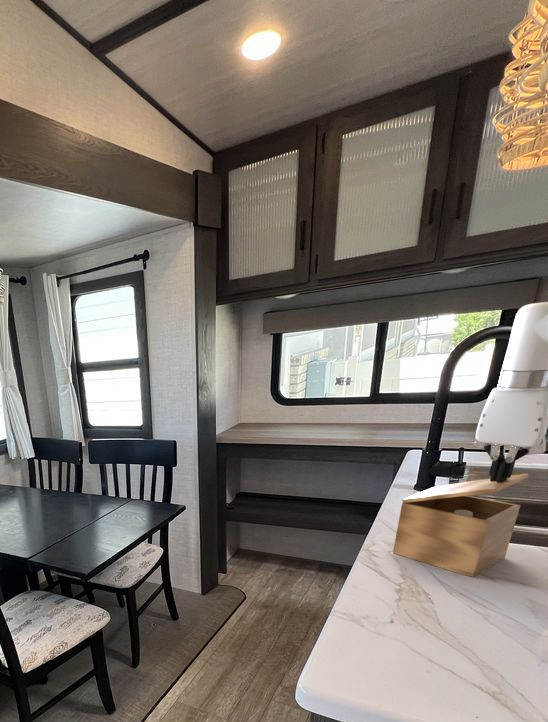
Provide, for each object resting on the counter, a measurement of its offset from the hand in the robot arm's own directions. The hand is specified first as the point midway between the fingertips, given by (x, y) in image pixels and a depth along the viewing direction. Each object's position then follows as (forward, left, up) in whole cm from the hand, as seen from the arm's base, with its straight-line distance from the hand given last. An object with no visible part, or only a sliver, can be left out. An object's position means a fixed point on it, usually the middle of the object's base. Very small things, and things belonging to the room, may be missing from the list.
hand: (498, 480), depth 90 cm
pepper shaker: (+4, 0, -17) cm, 18 cm away
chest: (+5, 0, -18) cm, 19 cm away
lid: (+5, 0, -3) cm, 6 cm away
